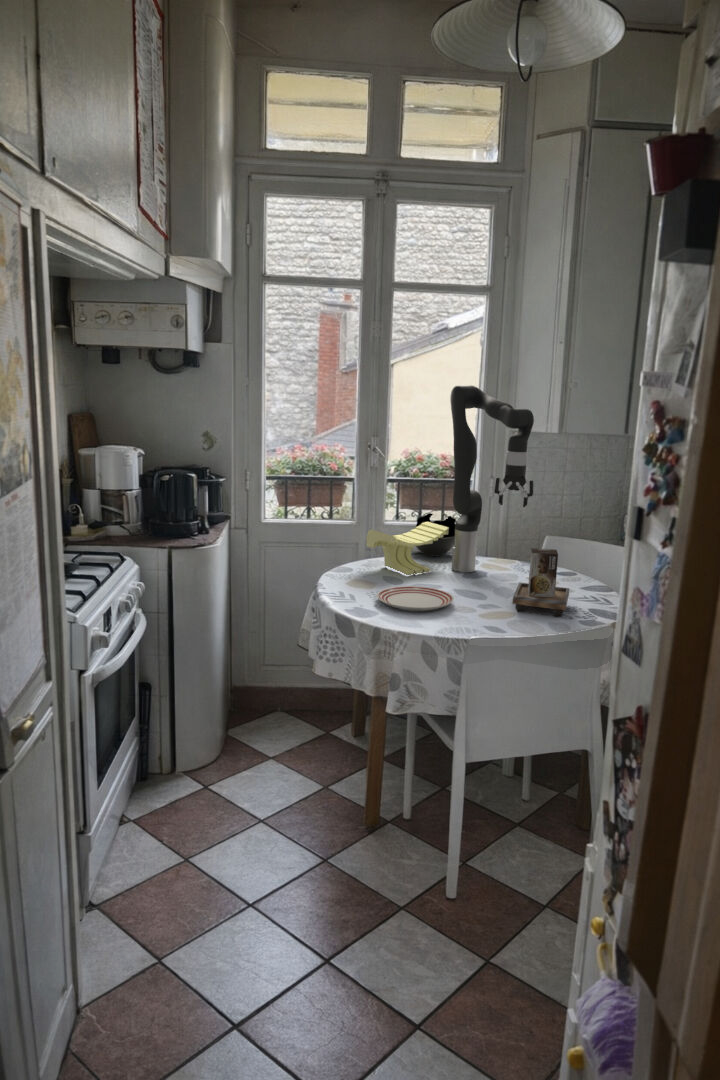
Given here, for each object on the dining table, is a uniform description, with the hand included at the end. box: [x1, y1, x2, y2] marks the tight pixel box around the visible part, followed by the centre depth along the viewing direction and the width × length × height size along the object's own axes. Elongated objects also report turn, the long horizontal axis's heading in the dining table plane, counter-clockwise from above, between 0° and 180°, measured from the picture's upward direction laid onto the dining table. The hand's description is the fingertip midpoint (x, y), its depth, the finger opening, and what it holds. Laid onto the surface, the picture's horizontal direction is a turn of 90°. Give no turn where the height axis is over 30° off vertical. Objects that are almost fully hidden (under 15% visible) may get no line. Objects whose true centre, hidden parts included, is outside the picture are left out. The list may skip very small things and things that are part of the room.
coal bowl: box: [413, 512, 457, 557], centre depth 351 cm, size 20×20×19 cm
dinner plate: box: [376, 585, 455, 612], centre depth 285 cm, size 28×27×3 cm
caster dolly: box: [512, 582, 570, 617], centre depth 284 cm, size 18×18×6 cm
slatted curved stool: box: [366, 521, 449, 575], centre depth 326 cm, size 30×16×18 cm, turn 127°
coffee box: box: [528, 548, 559, 597], centre depth 282 cm, size 9×6×16 cm
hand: (512, 505), depth 301 cm, fingers open, 8 cm apart
